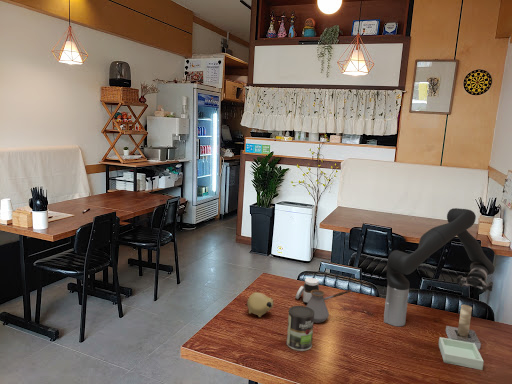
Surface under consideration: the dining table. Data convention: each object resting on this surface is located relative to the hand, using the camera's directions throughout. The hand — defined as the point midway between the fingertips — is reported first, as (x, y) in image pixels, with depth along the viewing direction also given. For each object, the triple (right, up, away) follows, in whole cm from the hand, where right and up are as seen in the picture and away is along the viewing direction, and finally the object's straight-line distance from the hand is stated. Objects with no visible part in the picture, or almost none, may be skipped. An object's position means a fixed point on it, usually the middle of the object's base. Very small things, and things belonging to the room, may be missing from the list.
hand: (472, 287), depth 168 cm
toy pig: (-94, -15, +9) cm, 95 cm away
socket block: (-8, -21, -6) cm, 23 cm away
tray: (-16, -22, -19) cm, 33 cm away
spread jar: (-70, -14, +25) cm, 76 cm away
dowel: (-8, -21, -6) cm, 23 cm away
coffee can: (-78, -19, -15) cm, 82 cm away
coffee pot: (-63, -17, +7) cm, 66 cm away
